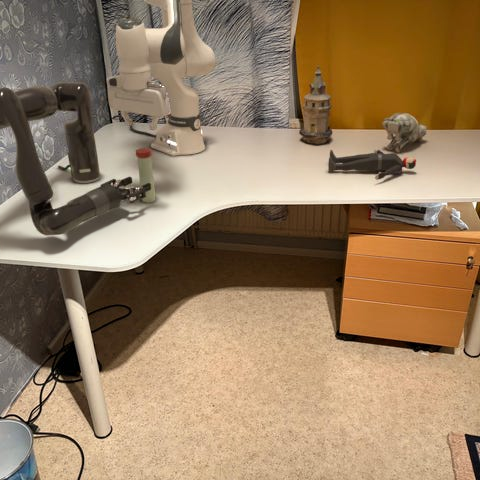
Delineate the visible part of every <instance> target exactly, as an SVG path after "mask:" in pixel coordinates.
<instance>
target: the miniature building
mask: <svg viewBox="0 0 480 480" xmlns="http://www.w3.org/2000/svg"><path fill="white" fill-rule="evenodd" d="M320 67H321V66H320V65H317V66H316V68H317V69H316V71H315V72H314V75H315V76H314V79H313V81H312V83H310V84H309V85H308V86H309V93H307V94H306V95H304V96H303V97H302V98H303V105H301V106H302V109H303V114H302V115H303V124H302V127H300V129H299V132H298V134H299V136H300V137H302V139H303V141H305V142H307V143H309V144H314V145H320V144H321V145H322V144H325V143H326V142H327V141H328V140H329V139H330V137H332V135H333V129H331V125H329V120H330V115H331V108H332V106H333V105H332V104H331V98H332V96H331V95H330V94H328V93H326V81H324V82H323V78H322V71H321V70H320Z"/></svg>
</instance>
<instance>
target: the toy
mask: <svg viewBox="0 0 480 480" xmlns="http://www.w3.org/2000/svg"><path fill="white" fill-rule="evenodd" d="M327 163H328V173H332V172H336V171H343V172H348V171H358V172H365V171H367V172H375V171H379V172H378V173H377V174H375V176H374V179H375V180H376V181H378V180H382V179H384V178H385V177H386V176H389V175H392V174H393V175H394V174H395V175H396V174H399V173H401V172H402V170H403V168H405V169H407V170H413V169H414V168H415V167H416V165H417V159H416V158H414V157H407V156H406V157H404V158H403V159H402V158H401V157H400V156H399V155H398V154H397V153H395V152H391V153H384V152H383V151H381V150H380V149H374V150H373V152H370V153H362V154H355V155H348V156H347V155H346V156H341V157H340V156H339V157H337V156H336V155H335V153H334V151H333V150H332V149H330V151H329V157H328V161H327ZM380 170H385V171H383V172H381V171H380Z"/></svg>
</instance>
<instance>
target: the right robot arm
mask: <svg viewBox="0 0 480 480" xmlns="http://www.w3.org/2000/svg"><path fill="white" fill-rule="evenodd" d="M143 2H145V3H147V4H148V5H151V6H154V7H157V8H160V10H161V12H160V13H161V21H162V28H160V27H159V28H158V27H157V28H156V27H155V28H147V27H146V26H145V23H144V21H143V20H141V19H139V18H126V19H122V20H119V21H118V22H117V23H116V24H115V25H116V26H115V46H116V47H115V48H116V55H117V58H118V61H119V67H118V74H116V75H113V76H110V77H108V78H107V79H106V84H107V86H108V88H107V99H108V105H109V108H111V110H112V111H113V110H114V111H120V115H119V114H117V115H114V116H112V117H111V120H115V119H116V118H120V119H123V120H124V125H125V126H126V127H127V126H129V128H130V131H132V132H134V133H138V134H143V135H146V136H150V137H153V138H155V141H153V142H151V144H150V148H152V149H154V150H157V151H159V152H161V153H164V154H167V155H169V156H174V157H175V156H176V157H177V156H182V155H183V156H186V155H194V154H199V153H201V152H204V151H205V149H206V145H205V142H204V139H203V138H204V137H203V130H202V127H201V126H202V115H201V112H200V100H199V99H200V98H199V97H200V95H199V93H198V92H197V90H196V89H195V88H193V87H191V86H189V85H186V84H184V82H183V79H184V78H191V77H192V78H193V77H200V76H205V75H207V74H209V73H212V72H213V71H214V69H215V67H216V62H217V58H216V54H215V52H214V50H213V48H211V47H210V46H209V45H208V44H206V43H205V42H204V40H202V38H201V37H200V35H199V34H198V32H197V29H196V26H195V20H194V12H193V10H194V9H193V1H192V0H143ZM152 77H153V79H155V80H157V81H158V82H160V83H156V82H152ZM130 113H133V114H139V115H143V116H149V117H150V119H151V123H149V124H148V127H149V128H148V129H149V130H151V131H156V130H157V129H158V122H159V119H160V118H164V117H165V119H166V120H167V123H166V124H164V125H163V126H162V127H161V128H160V129H158V130H157V131H156V134H152V133H150V132H147V131H142V130H138V129H135V128H134V127H133V118H131V117H130V115H129V114H130Z"/></svg>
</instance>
